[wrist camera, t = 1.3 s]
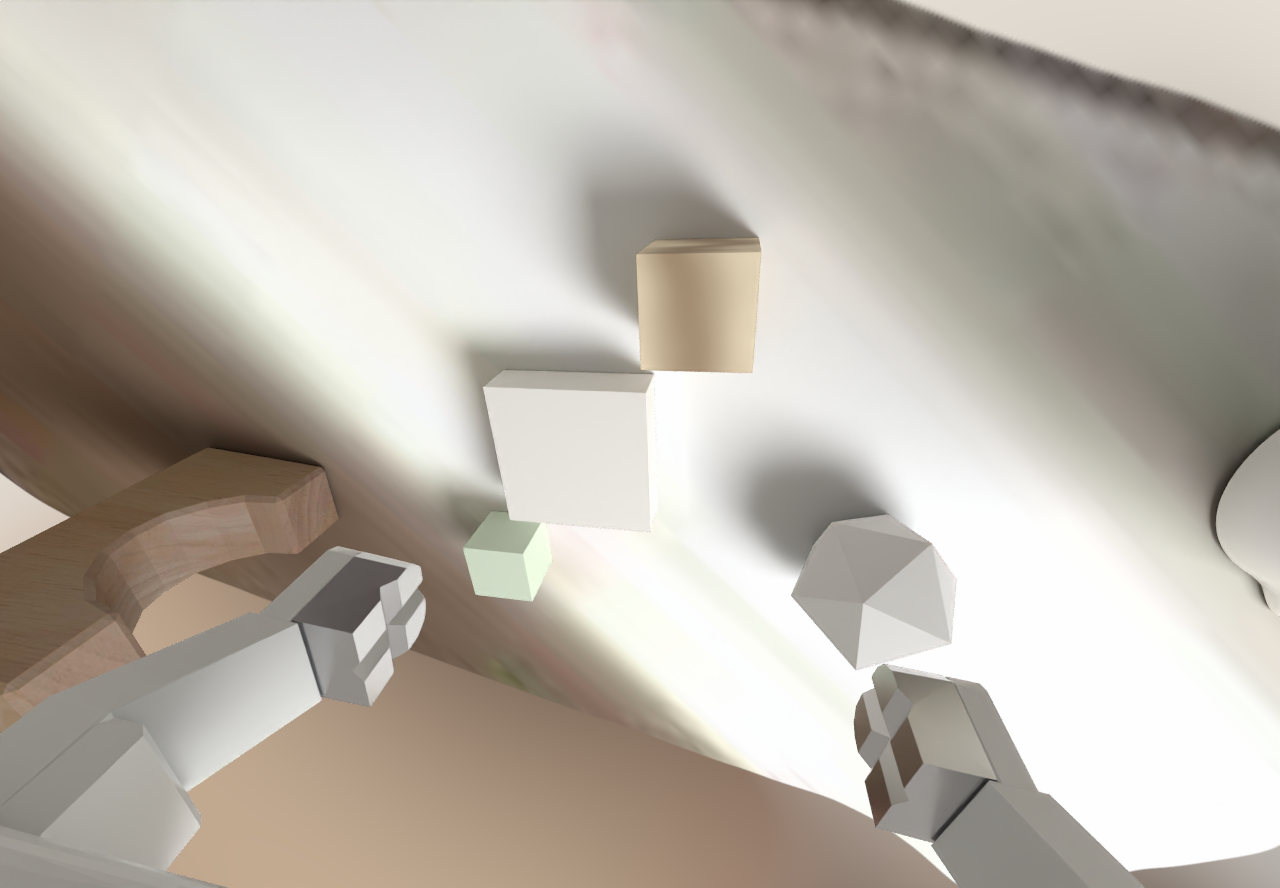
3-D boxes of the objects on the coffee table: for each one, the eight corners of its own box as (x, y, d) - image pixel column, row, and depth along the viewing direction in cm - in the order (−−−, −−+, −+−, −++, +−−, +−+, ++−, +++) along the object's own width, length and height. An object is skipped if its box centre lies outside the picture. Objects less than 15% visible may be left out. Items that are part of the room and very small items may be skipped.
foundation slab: (654, 374, 31) (645, 392, 28) (657, 506, 35) (650, 532, 33) (503, 369, 32) (482, 386, 30) (526, 495, 37) (509, 520, 35)
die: (796, 480, 33) (753, 627, 29) (949, 485, 27) (918, 676, 23) (845, 534, 38) (813, 666, 34) (984, 550, 32) (964, 715, 28)
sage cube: (545, 514, 38) (522, 554, 34) (552, 559, 40) (532, 601, 36) (491, 510, 39) (463, 547, 35) (501, 554, 41) (475, 594, 37)
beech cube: (758, 237, 26) (761, 252, 21) (751, 339, 29) (752, 373, 24) (655, 239, 27) (636, 254, 22) (657, 338, 30) (640, 370, 25)
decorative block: (327, 465, 39) (5, 692, 22) (342, 521, 42) (67, 761, 25) (206, 442, 41) (-187, 640, 24) (229, 498, 44) (-107, 711, 26)
